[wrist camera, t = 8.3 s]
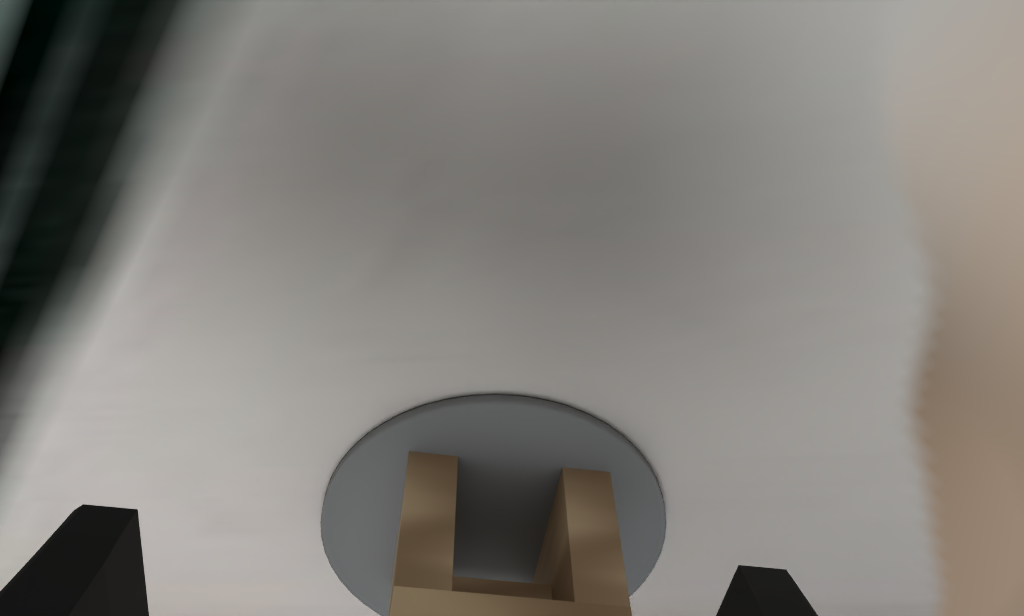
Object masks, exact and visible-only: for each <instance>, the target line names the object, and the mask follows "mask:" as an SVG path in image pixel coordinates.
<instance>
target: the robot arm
mask: <svg viewBox="0 0 1024 616" xmlns="http://www.w3.org/2000/svg"><path fill="white" fill-rule="evenodd" d="M0 616H149V612H148V603H147V593H146V584H145V575H144V566H143V556H142V547H141V538H140V528H139V519H138V510H137V509H127V508H116V507H105V506H94V505H81V506H80V507H78V508H77V509H75V510H74V511H73V512H72V513H71V514H70V515H69V517H68V518H67V519H66V520H65V521H64V522H63V523H62V525H61V526H60V527H59V528H58V529H57V530H56V531H55V532H54V534H53V535H52V536H51V537H50V538H49V539H48V540H47V541H46V542H45V544H44V545H43V546H42V547H41V548H40V549H39V550H38V551H37V552H36V554H35V555H34V556H33V557H32V558H31V559H30V560H29V561H28V562H27V563H26V564H25V566H24V567H23V568H22V569H21V570H20V571H19V572H18V573H17V574H16V575H15V576H14V577H13V578H12V580H11V581H10V582H9V583H8V584H7V585H6V586H5V587H4V588H3V589H2V590H1V591H0ZM716 616H818V615H817V614H816V612H815V611H814V609H813V608H812V606H811V605H810V603H809V602H808V600H807V599H806V598H805V596H804V595H803V593H802V592H801V590H800V589H799V587H798V586H797V584H796V583H795V582H794V580H793V579H792V577H791V576H790V575H789V573H788V572H787V570H784V569H774V568H763V567H752V566H741V565H738V568H737V570H736V572H735V574H734V577H733V579H732V581H731V583H730V586H729V588H728V590H727V592H726V595H725V597H724V599H723V601H722V604H721V606H720V608H719V610H718V613H717V615H716Z"/></svg>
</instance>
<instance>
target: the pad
mask: <svg viewBox="0 0 1024 616" xmlns="http://www.w3.org/2000/svg"><path fill="white" fill-rule="evenodd" d="M409 451H412V452H422V453H432V454H441V455H451V456H458V467H457V489H456V511H455V533H454V555H453V576H457V577H468V578H479V579H490V580H501V581H512V582H523V583H532V582H533V579H534V575H535V571H536V567H537V563H538V560H539V556H540V552H541V548H542V544H543V540H544V537H545V533H546V529H547V525H548V521H549V518H550V514H551V510H552V506H553V502H554V498H555V495H556V491H557V487H558V483H559V479H560V476H561V472H562V468H563V467H566V468H575V469H585V470H595V471H604V472H610V474H611V481H612V488H613V494H614V501H615V507H616V514H617V521H618V527H619V534H620V541H621V547H622V554H623V561H624V567H625V574H626V580H627V587H628V594H629V597H630V596H631V595H632V594H633V593H634V592H635V591H636V590H637V589H638V588H639V587H640V585H641V584H642V583H643V582H644V581H645V580H646V578H647V577H648V575H649V574H650V572H651V571H652V569H653V568H654V566H655V564H656V562H657V560H658V558H659V556H660V553H661V550H662V547H663V543H664V539H665V530H666V517H665V508H664V502H663V498H662V494H661V490H660V487H659V484H658V481H657V478H656V476H655V475H654V473H653V471H652V469H651V467H650V465H649V464H648V462H647V461H646V460H645V458H644V457H643V456H642V454H641V453H640V452H639V450H638V449H637V448H636V447H635V446H634V445H632V444H631V443H630V442H629V441H628V440H627V439H626V438H625V437H624V436H623V435H621V434H620V433H619V432H617V431H616V430H614V429H613V428H612V427H610V426H609V425H607V424H605V423H604V422H602V421H600V420H598V419H596V418H594V417H593V416H591V415H589V414H586V413H584V412H581V411H579V410H576V409H574V408H571V407H569V406H565V405H562V404H558V403H554V402H551V401H547V400H542V399H536V398H530V397H523V396H510V395H478V396H467V397H460V398H453V399H447V400H443V401H439V402H435V403H431V404H427V405H424V406H421V407H418V408H416V409H413V410H410V411H408V412H405V413H402V414H400V415H398V416H397V417H395V418H393V419H391V420H389V421H387V422H385V423H383V424H382V425H380V426H379V427H377V428H376V429H374V430H373V431H371V432H370V433H368V434H367V435H366V436H364V437H363V438H362V439H361V440H360V441H359V442H358V443H357V444H356V445H355V446H353V447H352V448H351V449H350V451H349V452H348V453H347V454H346V456H345V457H344V458H343V459H342V461H341V462H340V463H339V465H338V467H337V468H336V470H335V472H334V474H333V475H332V477H331V479H330V482H329V485H328V488H327V491H326V494H325V498H324V503H323V509H322V515H321V537H322V542H323V546H324V550H325V553H326V556H327V558H328V560H329V563H330V565H331V567H332V568H333V570H334V572H335V573H336V575H337V576H338V578H339V579H340V581H341V582H342V583H343V584H344V585H345V586H346V587H347V589H348V590H349V591H350V592H351V593H352V594H353V595H354V596H355V597H357V598H358V599H359V600H360V601H361V602H362V603H363V604H365V605H366V606H368V607H369V608H371V609H372V610H374V611H375V612H377V613H378V614H380V615H381V616H388V612H389V603H390V594H391V585H392V577H393V570H394V562H395V554H396V546H397V539H398V531H399V523H400V515H401V508H402V500H403V492H404V484H405V477H406V469H407V461H408V454H409Z"/></svg>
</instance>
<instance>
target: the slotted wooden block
mask: <svg viewBox="0 0 1024 616" xmlns="http://www.w3.org/2000/svg"><path fill="white" fill-rule="evenodd" d="M457 467H458V456H451V455H441V454H432V453H422V452H412V451H409V454H408V461H407V469H406V477H405V484H404V492H403V500H402V508H401V515H400V523H399V531H398V539H397V546H396V554H395V562H394V570H393V577H392V585H391V594H390V603H389V612H388V616H632V614H631V607H630V600H629V594H628V587H627V580H626V574H625V567H624V561H623V554H622V547H621V541H620V534H619V527H618V521H617V514H616V507H615V501H614V494H613V488H612V481H611V474H610V472H604V471H595V470H585V469H575V468H566V467H563V468H562V472H561V476H560V479H559V483H558V487H557V491H556V495H555V498H554V502H553V506H552V510H551V514H550V518H549V521H548V525H547V529H546V533H545V537H544V540H543V544H542V548H541V552H540V556H539V560H538V563H537V567H536V571H535V575H534V579H533V582H532V583H523V582H512V581H501V580H490V579H479V578H468V577H457V576H453V555H454V533H455V511H456V489H457Z"/></svg>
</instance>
